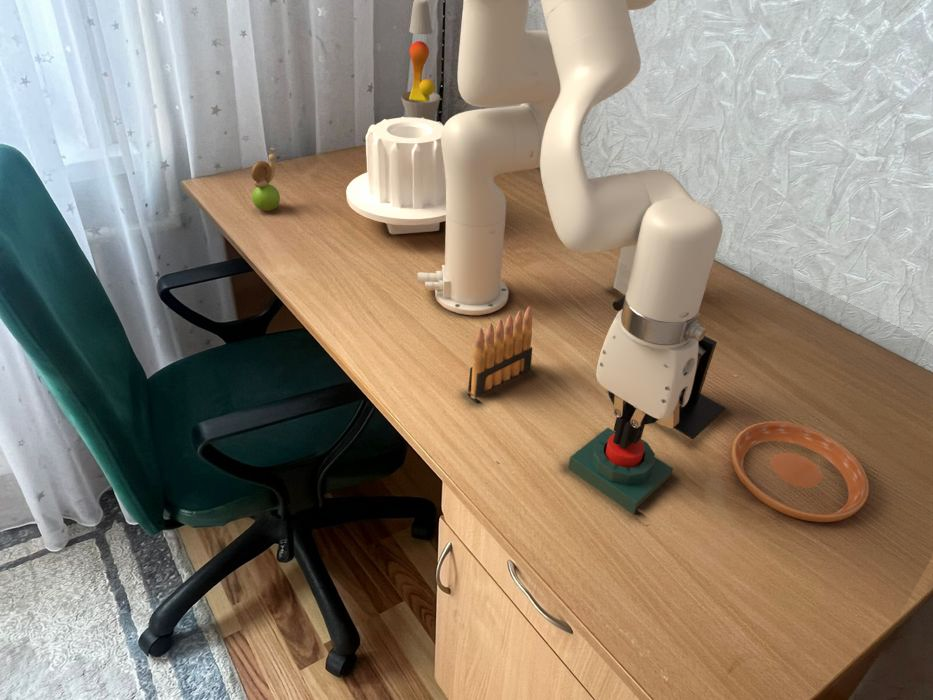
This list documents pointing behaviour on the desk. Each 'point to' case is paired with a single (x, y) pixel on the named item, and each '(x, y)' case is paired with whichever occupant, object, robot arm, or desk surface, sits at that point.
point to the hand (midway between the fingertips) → (625, 440)
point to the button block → (619, 472)
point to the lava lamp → (420, 68)
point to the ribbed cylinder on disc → (402, 176)
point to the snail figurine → (265, 184)
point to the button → (624, 453)
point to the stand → (699, 397)
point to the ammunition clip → (501, 354)
